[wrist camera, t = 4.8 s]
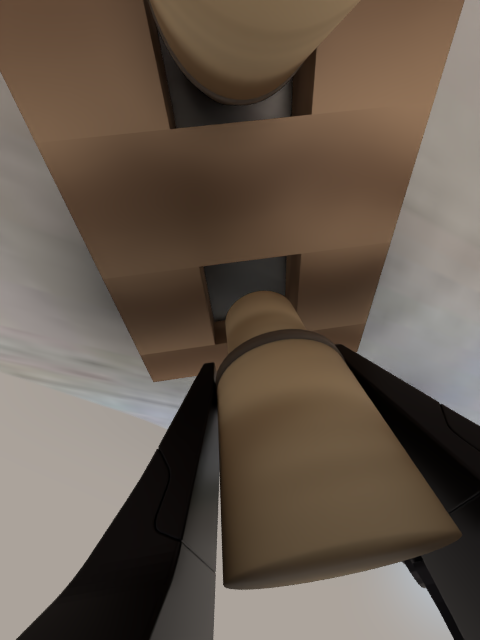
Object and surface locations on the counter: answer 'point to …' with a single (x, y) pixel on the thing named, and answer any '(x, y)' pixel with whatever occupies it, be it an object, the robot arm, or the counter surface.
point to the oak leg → (309, 460)
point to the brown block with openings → (229, 148)
